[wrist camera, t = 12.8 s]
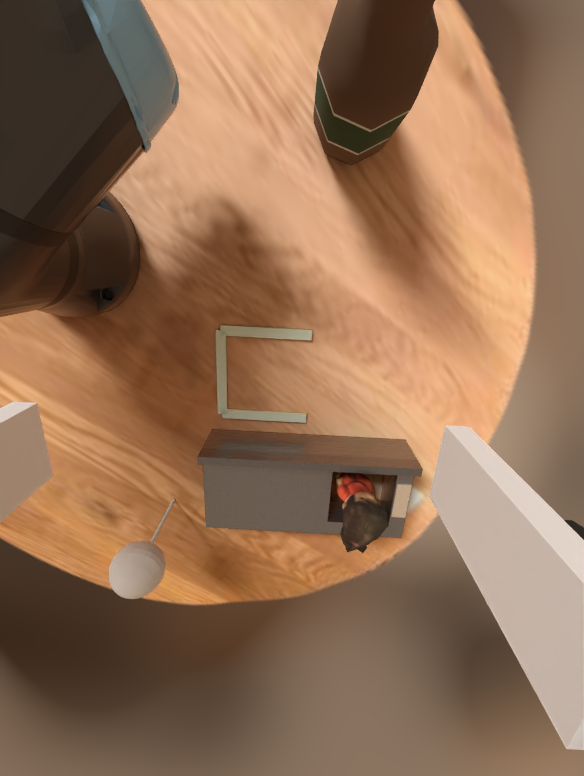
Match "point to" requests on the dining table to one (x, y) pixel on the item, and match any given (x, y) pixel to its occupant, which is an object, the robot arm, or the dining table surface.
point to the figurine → (359, 510)
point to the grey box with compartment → (298, 479)
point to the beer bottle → (371, 73)
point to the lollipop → (138, 566)
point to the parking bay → (222, 370)
